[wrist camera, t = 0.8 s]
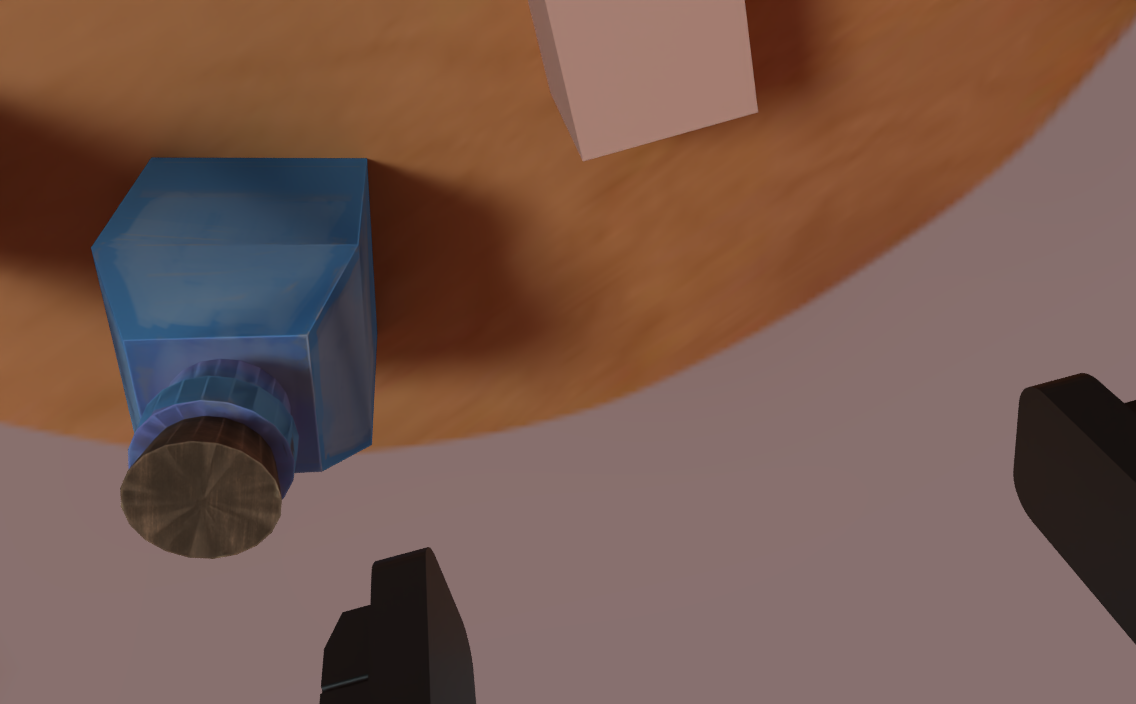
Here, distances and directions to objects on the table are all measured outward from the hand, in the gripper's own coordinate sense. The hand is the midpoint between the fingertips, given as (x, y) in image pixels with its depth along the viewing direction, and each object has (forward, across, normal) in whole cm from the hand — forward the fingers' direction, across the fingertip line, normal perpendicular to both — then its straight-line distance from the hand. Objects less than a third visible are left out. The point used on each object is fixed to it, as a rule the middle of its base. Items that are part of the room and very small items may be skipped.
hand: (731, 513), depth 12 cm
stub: (+19, -2, -3) cm, 19 cm away
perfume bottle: (+19, +10, +3) cm, 21 cm away
